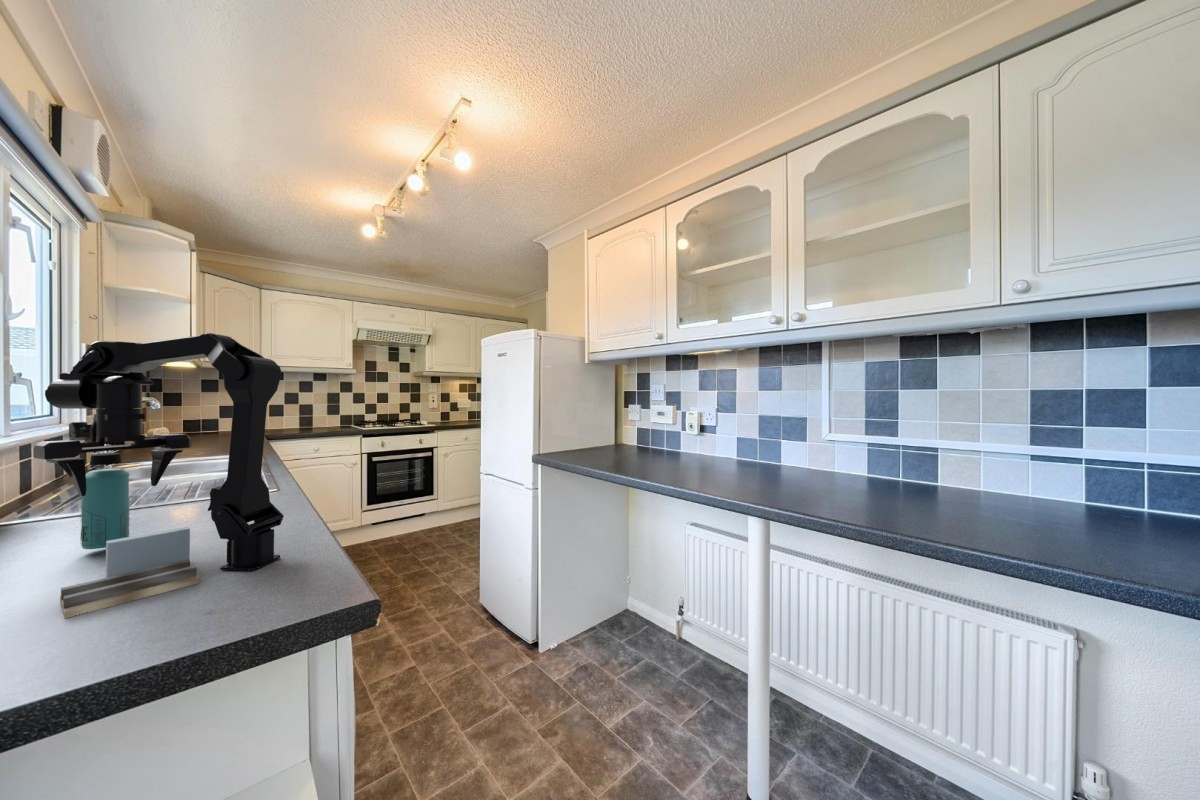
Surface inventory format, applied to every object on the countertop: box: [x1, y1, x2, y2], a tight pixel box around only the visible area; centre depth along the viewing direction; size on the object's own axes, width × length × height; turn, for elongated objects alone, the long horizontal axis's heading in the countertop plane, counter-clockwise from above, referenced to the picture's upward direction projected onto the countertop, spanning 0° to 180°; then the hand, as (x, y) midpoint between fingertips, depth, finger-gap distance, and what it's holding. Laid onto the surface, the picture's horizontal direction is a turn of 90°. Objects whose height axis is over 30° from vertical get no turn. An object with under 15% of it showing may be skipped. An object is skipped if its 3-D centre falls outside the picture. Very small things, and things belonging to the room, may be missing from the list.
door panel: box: [105, 526, 191, 578], centre depth 74 cm, size 10×2×7 cm, turn 146°
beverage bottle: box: [79, 452, 131, 550], centre depth 83 cm, size 6×7×20 cm
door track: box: [59, 558, 200, 619], centre depth 67 cm, size 14×8×2 cm, turn 146°
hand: (120, 490), depth 78 cm, fingers open, 9 cm apart
